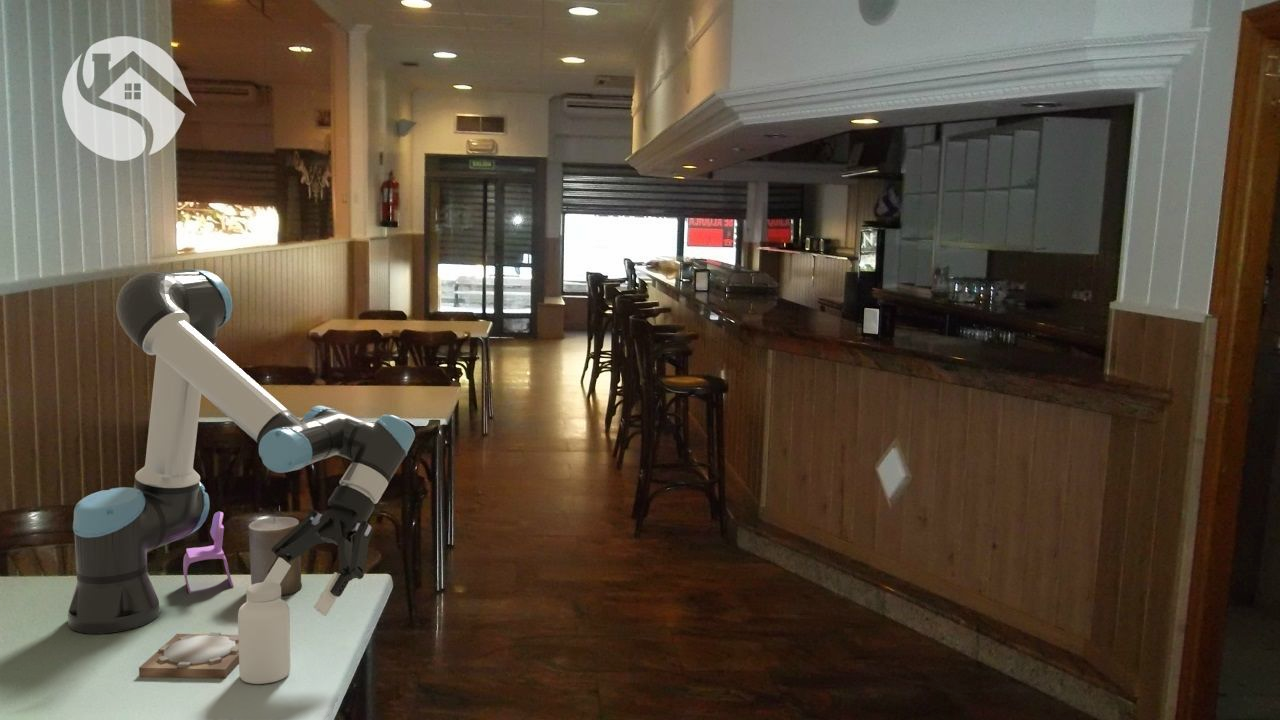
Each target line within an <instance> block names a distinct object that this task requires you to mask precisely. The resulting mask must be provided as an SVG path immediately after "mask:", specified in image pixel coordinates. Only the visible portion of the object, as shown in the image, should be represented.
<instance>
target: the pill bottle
mask: <svg viewBox="0 0 1280 720" xmlns="http://www.w3.org/2000/svg"><path fill="white" fill-rule="evenodd" d="M290 612H291V610H290V606H289V603H288V602H287V601H286V600H284V599H283V598H282V596H281V586H280V585H279V584H278V583H274V582H261V583H256V584H253V585H252V584H250V585H249V586H248V587H247V588H246V602H244V603H243V604H242V605H240V607H239V609H238V612H237V629H238V632H237V633H238V634H237V635H238V638H239V664H238V668H239V670H238V671H239V677H240V679H241V681H243V682H245V683H248V684H254V685H262V684H271V683H276V682H278V681H281V680H283V679H285V678H286V677H288V676H289V675H290V672H291V667H292V666H291V665H292V664H291V663H292V662H291V659H292V658H291V617H290V615H291V613H290Z"/></svg>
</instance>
